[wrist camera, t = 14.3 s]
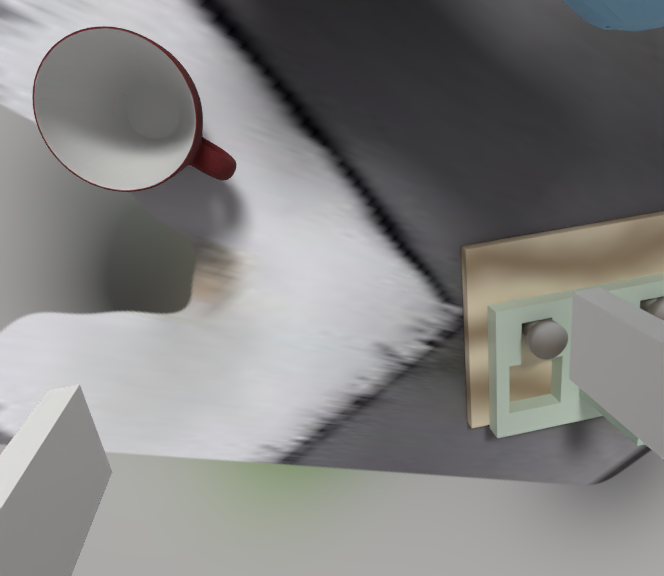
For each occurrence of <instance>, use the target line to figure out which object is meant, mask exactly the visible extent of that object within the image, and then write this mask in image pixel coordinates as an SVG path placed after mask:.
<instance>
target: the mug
mask: <svg viewBox="0 0 664 576" xmlns="http://www.w3.org/2000/svg"><path fill="white" fill-rule="evenodd" d="M33 109H34V115H35V119H36V123H37V126H38V128H39V131H40V133H41V135H42V138H43V139H44V141H45V143H46V145H47V146H48V148H49V149H50V151H51V152H52V153H53V155H54V156H55V157H56V158H57V159H58V160H59V161H60V162H61V164H62V165H64V166H65V167H66V168H67V169H68V170H69V171H70V172H72V173H73V174H75V175H76V176H78V177H79V178H81V179H82V180H84V181H86V182H88V183H90V184H93V185H95V186H98V187H101V188H104V189H108V190H113V191H122V192H131V191H140V190H145V189H149V188H152V187H155V186H157V185H159V184H161V183H163V182H165V181H167V180H168V179H170V178H171V177H173V176H175V175H176V174H177V173H178V172H180V171H181V170H182V169H184V168H185V167H186V166H188V165H192V166H193V167H195V168H197V169H198V170H200V171H202V172H203V173H205V174H207V175H209V176H211V177H214V178H216V179H219V180H228V179H229V178H231V176H232V175H233V174H234V172H235V170H236V161H235V160H234V159H233V158H232V157H231V156H230V155H229V154H228V153H227V152H226V151H224V150H223V149H221V148H220V147H218V146H217V145H215V144H213V143H211V142H210V141H208V140H206V139H204V138H203V137H202V127H203V115H202V106H201V102H200V98H199V95H198V92H197V89H196V87H195V84H194V83H193V81H192V79H191V77H190V75H189V74H188V72H187V71H186V70H185V68H184V67H183V66H182V65H181V63H180V62H179V61H178V60H177V59H176V58H175V57H174V56H173V55H172V54H171V53H170V52H168V51H167V50H166V49H164V48H163V47H162V46H160V45H158V44H157V43H155V42H154V41H152V40H150V39H148V38H146V37H144V36H142V35H140V34H137V33H135V32H132V31H129V30H126V29H122V28H116V27H92V28H86V29H82V30H79V31H76V32H74V33H72V34H70V35H68V36H66V37H64V38H63V39H61V40H60V41H59V42H57V43H56V44H55V45H54V46H53V47H52V48H51V49H50V50H49V51H48V53H47V54H46V55H45V57H44V58H43V60H42V62H41V64H40V66H39V68H38V71H37V73H36V77H35V80H34V86H33Z"/></svg>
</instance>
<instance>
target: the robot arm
mask: <svg viewBox="0 0 664 576" xmlns="http://www.w3.org/2000/svg"><path fill="white" fill-rule="evenodd" d="M562 1H563V2H565V3H566V4H567V5H568V6H569V7H570V8H571V9H572V10H573V11H574V12H575V13H577V14H578V15H579V16H580V17H581V18H582V19H583V20H585V21H586V22H588V23H589V24H591V25H593V26H595V27H598V28H601V29H604V30H627V31H631V32H633V31H644V30H650V29H655V28H660V27H664V0H562ZM569 379H570V380H571V381H572V382H573V383H574V384H576V385H577V386H578V387H579V388H580V389H581V390H583V391H584V392H585V393H586V394H587V395H588V396H590V397H591V398H592V399H593V400H594V401H595V402H597V403H598V404H599V405H600V406H601V407H602V408H604V409H605V410H606V411H607V412H608V413H609V414H611V415H612V416H613V417H614V418H615V419H616V420H618V421H619V422H620V423H621V424H622V425H623V426H625V427H626V428H627V429H628V430H629V431H630V432H632V433H633V434H634V435H635V436H636V437H637V438H639V439H640V440H641V441H642V442H643V443H644V444H646V445H647V446H648V447H649V448H650V449H651V450H653V451H654V452H655V453H656V454H657V455H658V456H660V457H661V458H662V459H663V460H664V320H662V319H660V318H658V317H656V316H654V315H652V314H650V313H648V312H646V311H644V310H642V309H640V308H638V307H636V306H635V305H633V304H631V303H629V302H627V301H625V300H623V299H621V298H619V297H617V296H615V295H613V294H611V293H609V292H607V291H606V290H604V289H602V288H600V287H598V288H593V289H588V290H582V291H577V292H573V307H572V327H571V346H570V366H569ZM111 473H112V470H111V468H110V465H109V462H108V460H107V457H106V454H105V451H104V449H103V446H102V443H101V441H100V438H99V435H98V433H97V430H96V427H95V424H94V422H93V419H92V416H91V414H90V411H89V408H88V406H87V403H86V400H85V397H84V395H83V392H82V389H81V387H80V384H79V385H74V386H69V387H63V388H58V389H53V390H48V391H47V392H46V394H45V395H44V396H43V398H42V399H41V400H40V402H39V403H38V404H37V406H36V407H35V409H34V410H33V411H32V413H31V414H30V415H29V417H28V418H27V419H26V421H25V422H24V424H23V425H22V426H21V428H20V429H19V430H18V432H17V433H16V434H15V436H14V437H13V438H12V440H11V441H10V443H9V444H8V445H7V447H6V448H5V449H4V451H3V452H2V453H1V455H0V576H71V575H72V572H73V570H74V567H75V565H76V562H77V559H78V557H79V555H80V552H81V549H82V547H83V545H84V542H85V539H86V537H87V534H88V532H89V529H90V527H91V524H92V522H93V519H94V516H95V514H96V512H97V509H98V506H99V504H100V501H101V499H102V496H103V494H104V491H105V489H106V486H107V483H108V481H109V478H110V476H111Z"/></svg>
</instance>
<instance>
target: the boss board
mask: <svg viewBox="0 0 664 576" xmlns="http://www.w3.org/2000/svg"><path fill="white" fill-rule="evenodd" d="M461 258H462V285H463V312H464V339H465V366H466V393H467V419H468V423H469V425H470V426H471V428H476V427H481V426H486V425H490V419H489V362H488V306H487V305H491V304H497V303H502V302H507V301H513V300H518V299H523V298H529V297H534V296H539V295H545V294H550V293H556V292H561V291H566V290H572V289H577V288H582V287H588V286H593V285H598V284H604V283H609V282H615V281H620V280H625V279H631V278H636V277H641V276H647V275H652V274H658V273H663V272H664V211H662V212H656V213H650V214H644V215H639V216H633V217H627V218H621V219H616V220H610V221H604V222H598V223H593V224H587V225H581V226H575V227H569V228H564V229H558V230H552V231H546V232H541V233H535V234H529V235H523V236H518V237H512V238H506V239H500V240H495V241H489V242H483V243H477V244H472V245H466V246H461ZM640 309H642V310H644V311H646V312H648V313H650V314H652V315H654V316H656V317H658V318H660V319H662V320H664V297H662V298H660V299H656V298H652V299H647V300H642V301H640ZM567 342H568V334H567V331H566V330H565V329H564V328H563V327H562V326H561V325H559V324H558V323H556V322H555V321H553V320H537V321H532V322H526V323H522V343H521V364H519V365H514V366H509V402H513V401H517V400H522V399H527V398H532V397H537V396H542V395H547V394H551V375H552V358H554V357H556V356H558V355H559V354H560V353H561V352H562V351H563V350H564V349H565V347H566V345H567Z"/></svg>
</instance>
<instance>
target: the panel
mask: <svg viewBox="0 0 664 576" xmlns="http://www.w3.org/2000/svg"><path fill="white" fill-rule="evenodd" d="M598 287H600V288H602V289H604V290H606V291H607V292H609V293H611V294H613V295H615V296H617V297H619V298H621V299H623V300H625V301H627V302H629V303H631V304H633V305H635V306H636V307H638V308H640V301H642V300H647V299H652V298H656V299H660V298H662V297H664V272H663V273H658V274H652V275H647V276H641V277H636V278H631V279H625V280H620V281H615V282H609V283H604V284H598V285H593V286H588V287H582V288H577V289H572V290H566V291H561V292H556V293H550V294H545V295H539V296H534V297H529V298H523V299H518V300H513V301H507V302H502V303H497V304H491V305H487V306H488V362H489V419H490V429H491V431H492V432H493V433H494V435H495V436H496V437H497V438H502V437H506V436H511V435H516V434H520V433H525V432H530V431H534V430H539V429H544V428H549V427H553V426H558V425H563V424H567V423H572V422H577V421H581V420H586V419H591V418H595V417H600V416H604V417H605V418H606V419H607V420H608V421H609V422H611V423H612V424H613V425H614V426H615V427H616V428H617V429H619V430H620V431H621V432H622V433H623V434H624V435H625V436H627V437H628V438H629V439H630V440H631V441H632V442H633V443H634V444H636V445H637V446H638V445H643V444H644V443H643V442H642V441H641V440H640V439H639V438H637V437H636V436H635V435H634V434H633V433H632V432H630V431H629V430H628V429H627V428H626V427H625V426H623V425H622V424H621V423H620V422H619V421H618V420H616V419H615V418H614V417H613V416H612V415H611V414H609V413H608V412H607V411H606V410H605V409H604V408H602V407H601V406H600V405H599V404H598V403H597V402H595V401H594V400H593V399H592V398H591V397H590V396H588V395H587V394H586V393H585V392H584V391H583V390H581V389H580V388H579V387H578V386H577V385H576V384H574V383H573V382H572V381H571V380H570V379H569V366H570V346H571V327H572V307H573V292H577V291H582V290H588V289H593V288H598ZM537 320H553V321H555V322H556V323H558V324H559V325H561V326H562V327H563V328H564V329H565V330H566V331H567V334H568V342H567V345H566V347H565V349H564V350H563V351H562V352H561V353H560V354H559V355H558V356H556V357H554V358H552V375H551V394H547V395H542V396H537V397H532V398H527V399H522V400H517V401H513V402H509V366H514V365H519V364H521V343H522V323H526V322H532V321H537Z"/></svg>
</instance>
